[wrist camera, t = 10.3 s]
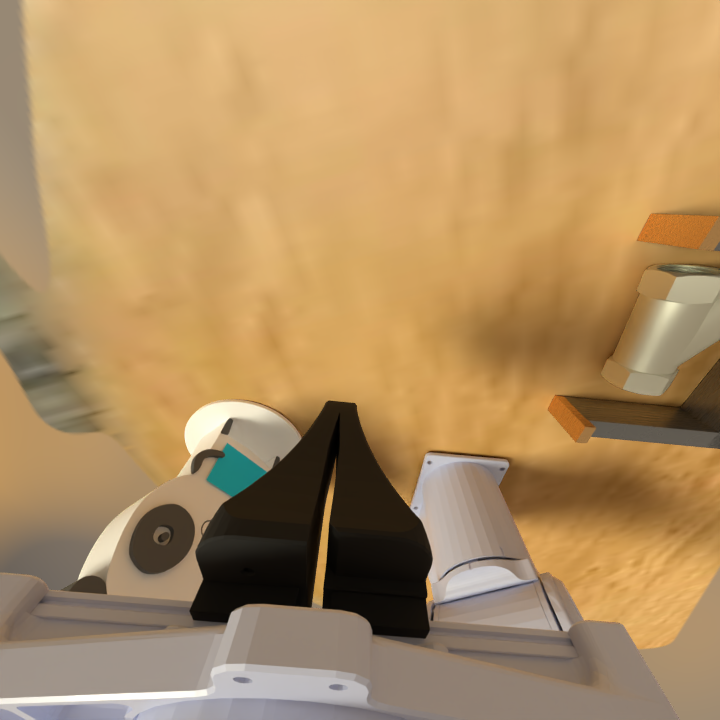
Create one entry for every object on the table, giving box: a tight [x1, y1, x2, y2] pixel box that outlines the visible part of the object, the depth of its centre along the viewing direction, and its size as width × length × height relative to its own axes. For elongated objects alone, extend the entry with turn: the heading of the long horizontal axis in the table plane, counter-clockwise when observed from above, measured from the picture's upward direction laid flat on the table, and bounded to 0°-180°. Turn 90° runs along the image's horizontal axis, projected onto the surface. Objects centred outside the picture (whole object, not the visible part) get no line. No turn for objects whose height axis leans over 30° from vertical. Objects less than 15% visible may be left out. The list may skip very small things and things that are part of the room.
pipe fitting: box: [601, 264, 720, 396], centre depth 19 cm, size 8×4×7 cm
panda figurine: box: [60, 399, 302, 601], centre depth 21 cm, size 12×11×15 cm
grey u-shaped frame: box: [548, 214, 720, 449], centre depth 19 cm, size 15×12×4 cm
